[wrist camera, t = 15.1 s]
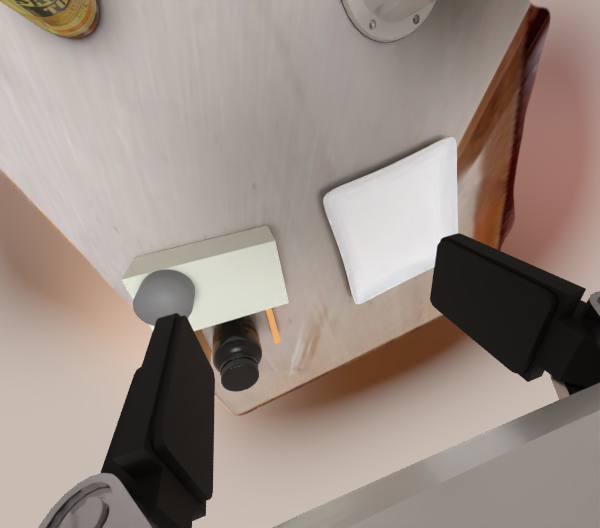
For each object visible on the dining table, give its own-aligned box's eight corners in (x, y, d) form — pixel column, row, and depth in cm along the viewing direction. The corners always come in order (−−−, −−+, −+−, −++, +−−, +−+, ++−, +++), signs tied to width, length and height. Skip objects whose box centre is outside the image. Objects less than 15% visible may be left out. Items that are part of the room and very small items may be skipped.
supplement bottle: (232, 341, 45) (236, 404, 35) (203, 320, 42) (199, 383, 31) (263, 319, 45) (276, 375, 34) (237, 295, 41) (243, 351, 31)
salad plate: (440, 132, 38) (459, 132, 35) (446, 248, 49) (460, 256, 46) (312, 190, 37) (320, 195, 34) (347, 296, 48) (356, 307, 45)
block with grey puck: (267, 224, 37) (280, 250, 29) (290, 326, 47) (304, 364, 39) (135, 257, 34) (111, 294, 26) (190, 357, 44) (184, 406, 36)
